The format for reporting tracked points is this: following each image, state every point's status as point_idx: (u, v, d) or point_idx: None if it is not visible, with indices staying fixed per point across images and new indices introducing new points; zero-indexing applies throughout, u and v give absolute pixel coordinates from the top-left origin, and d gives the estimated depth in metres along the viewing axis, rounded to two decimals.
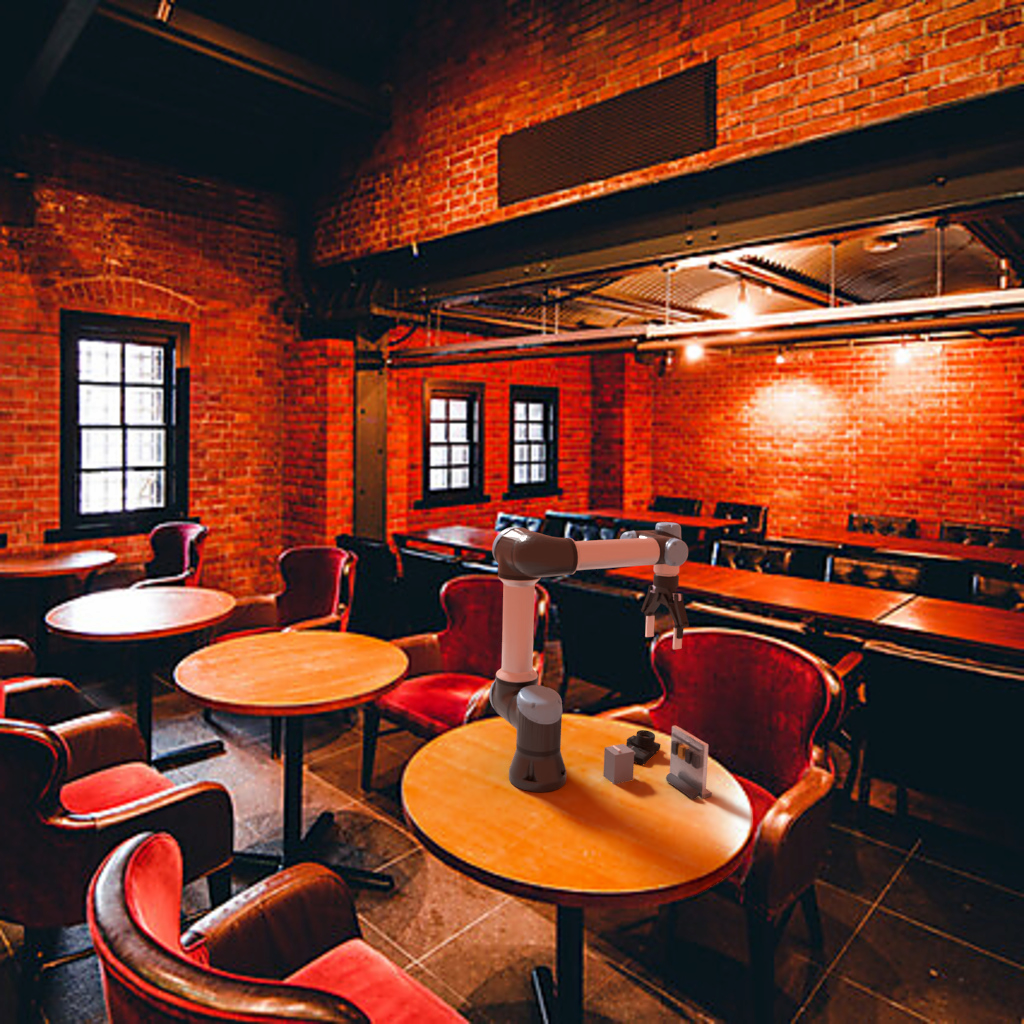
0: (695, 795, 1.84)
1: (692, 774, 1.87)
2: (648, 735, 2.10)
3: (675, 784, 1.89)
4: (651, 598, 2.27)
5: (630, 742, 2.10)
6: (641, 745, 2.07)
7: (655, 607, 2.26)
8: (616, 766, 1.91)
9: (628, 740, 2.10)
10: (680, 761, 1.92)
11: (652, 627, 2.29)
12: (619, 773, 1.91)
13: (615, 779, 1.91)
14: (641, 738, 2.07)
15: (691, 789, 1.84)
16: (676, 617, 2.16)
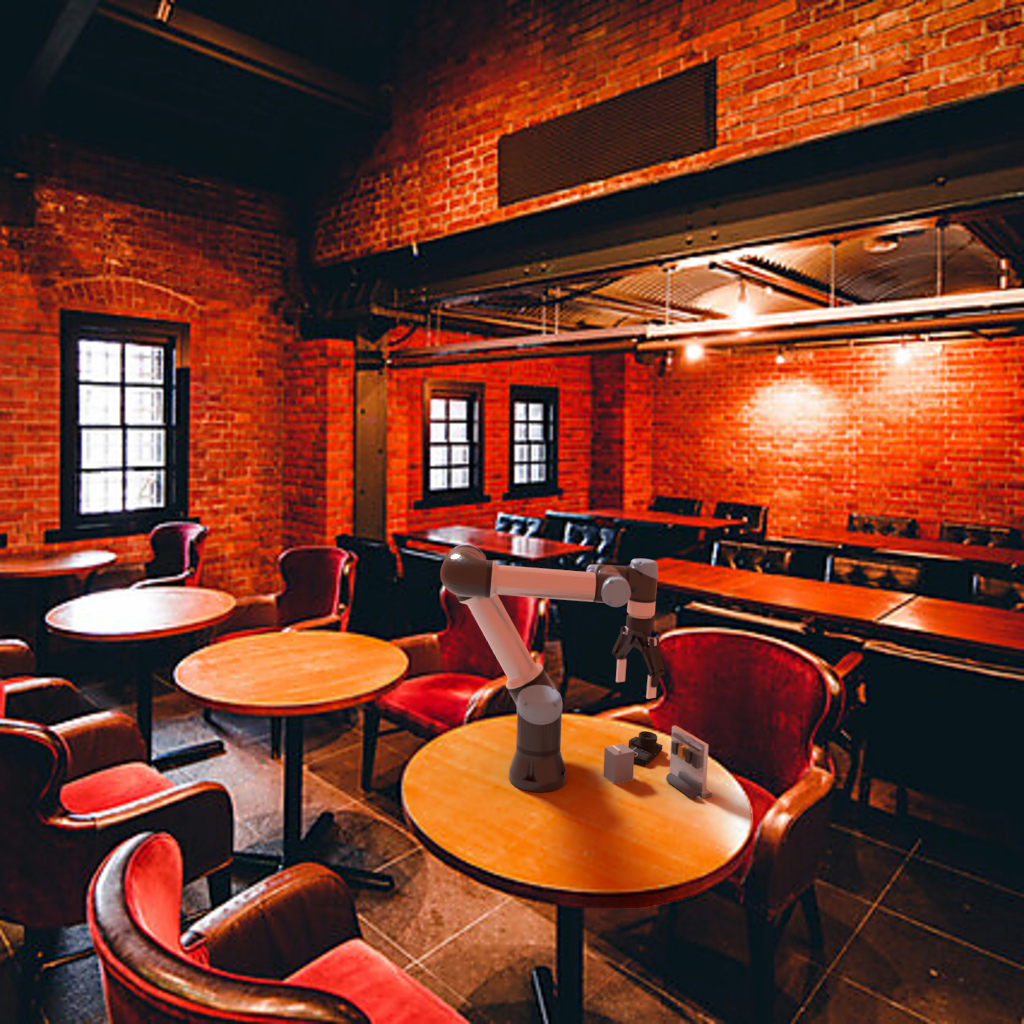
0: (695, 795, 1.84)
1: (692, 774, 1.87)
2: (650, 736, 2.09)
3: (675, 784, 1.89)
4: (623, 640, 2.09)
5: (632, 743, 2.09)
6: (643, 746, 2.06)
7: (627, 650, 2.07)
8: (616, 766, 1.91)
9: (630, 741, 2.10)
10: (680, 761, 1.92)
11: (623, 671, 2.10)
12: (619, 773, 1.91)
13: (615, 779, 1.91)
14: (643, 739, 2.06)
15: (691, 789, 1.84)
16: (651, 664, 1.97)
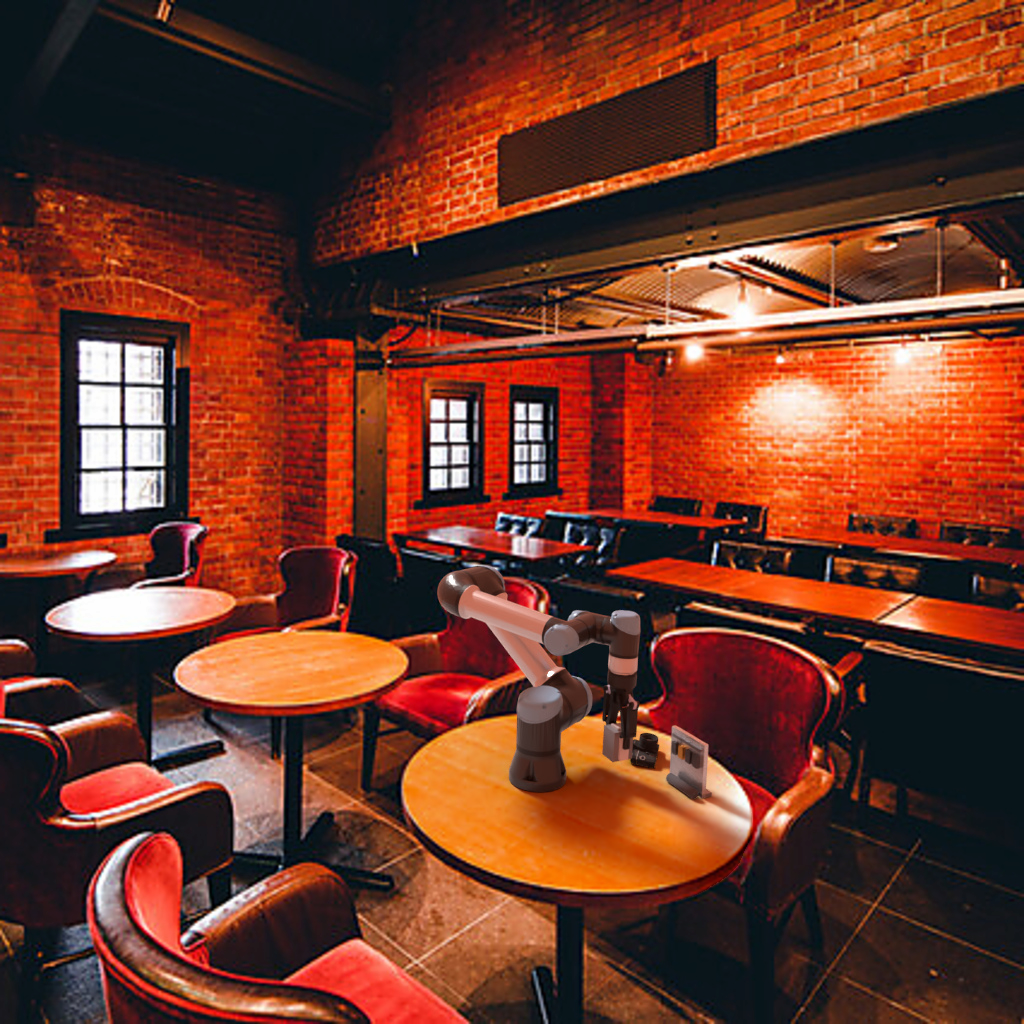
0: (695, 795, 1.84)
1: (692, 774, 1.87)
2: (650, 737, 2.08)
3: (675, 784, 1.89)
4: (609, 701, 1.97)
5: (634, 747, 2.07)
6: (647, 748, 2.05)
7: (615, 712, 1.95)
8: (616, 744, 1.90)
9: None
10: (680, 761, 1.92)
11: None
12: None
13: (614, 757, 1.91)
14: (647, 741, 2.05)
15: (691, 789, 1.84)
16: (625, 726, 1.89)
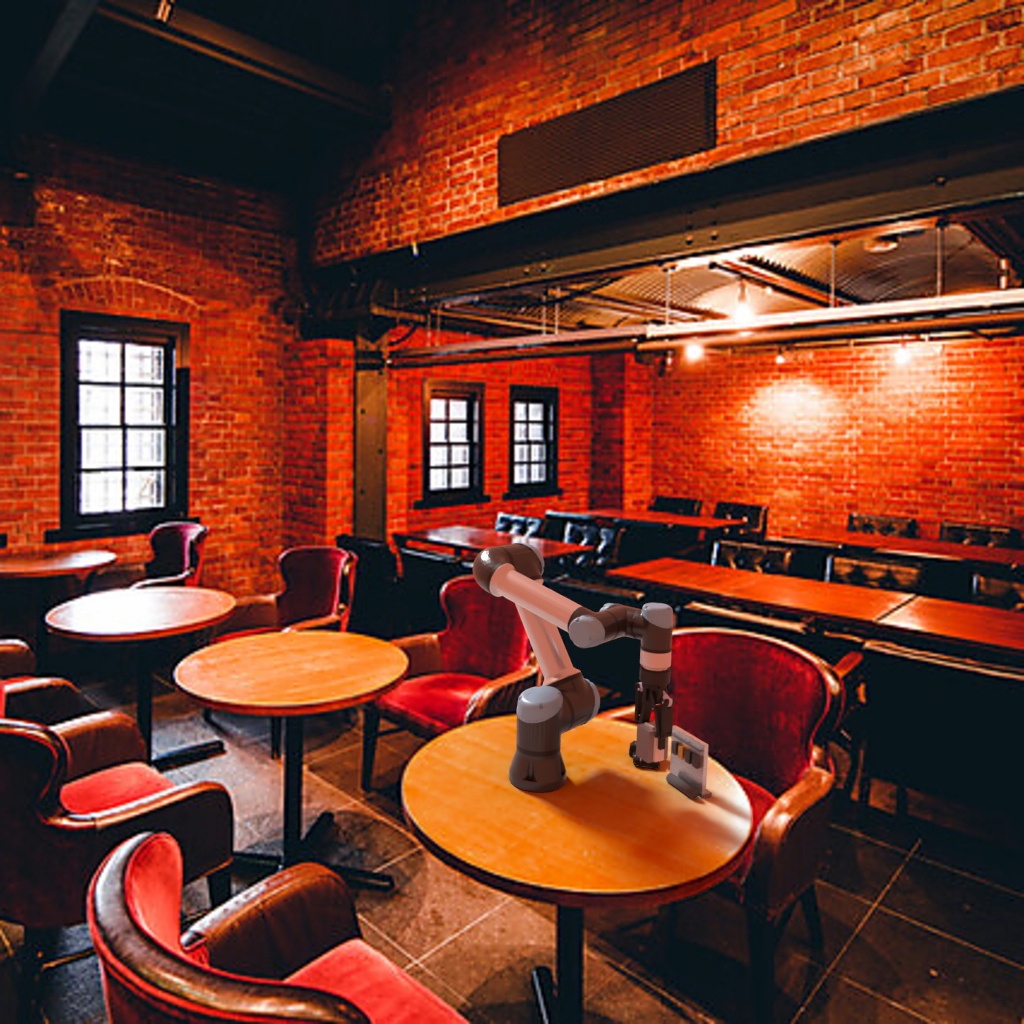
0: (695, 795, 1.84)
1: (692, 774, 1.87)
2: None
3: (675, 784, 1.89)
4: (642, 699, 1.87)
5: (635, 748, 2.06)
6: None
7: (648, 711, 1.85)
8: (650, 744, 1.80)
9: (632, 746, 2.06)
10: (680, 761, 1.92)
11: None
12: None
13: (649, 758, 1.81)
14: None
15: (691, 789, 1.84)
16: (660, 724, 1.79)
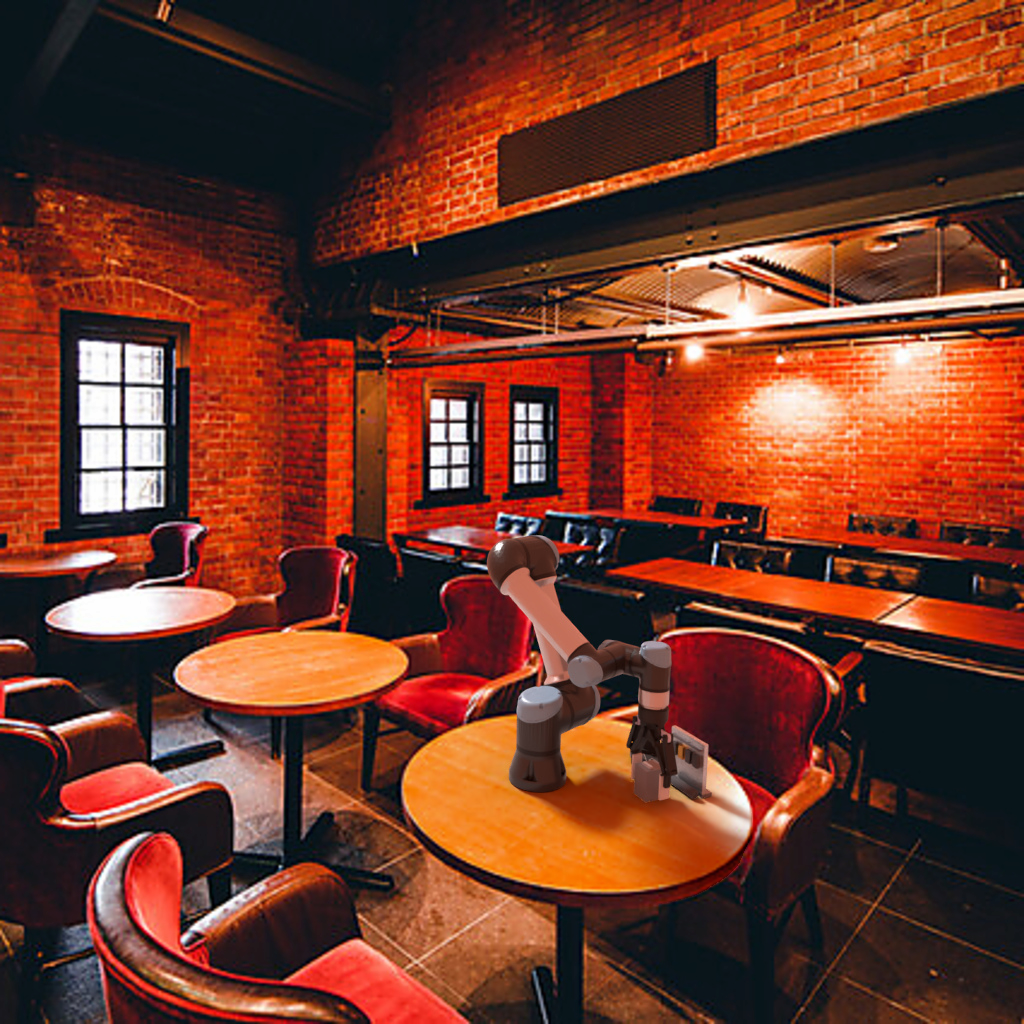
0: (695, 795, 1.84)
1: (692, 774, 1.87)
2: None
3: (675, 784, 1.89)
4: (637, 731, 1.89)
5: None
6: (652, 750, 2.04)
7: (642, 743, 1.88)
8: (648, 783, 1.82)
9: None
10: (680, 761, 1.92)
11: None
12: (651, 790, 1.82)
13: (646, 797, 1.82)
14: None
15: (691, 789, 1.84)
16: (663, 762, 1.79)
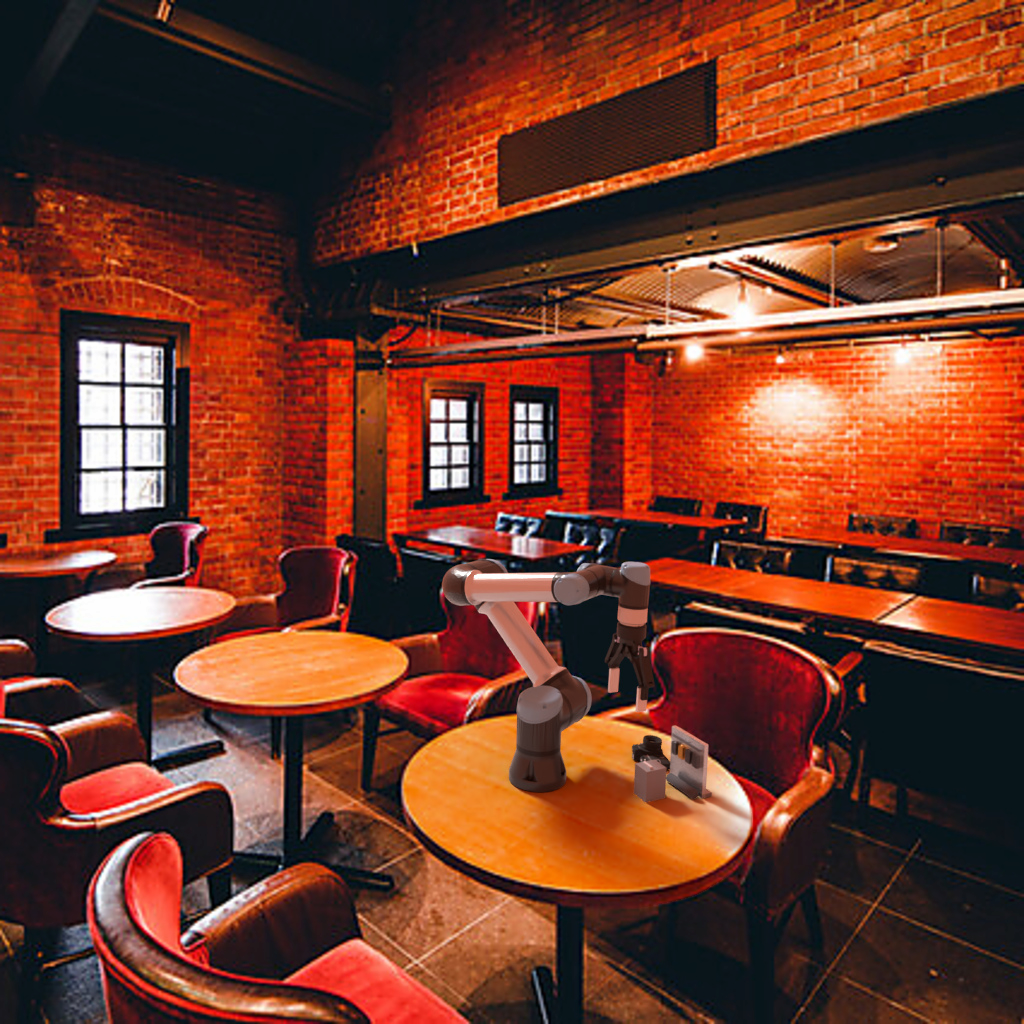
0: (695, 795, 1.84)
1: (692, 774, 1.87)
2: (651, 739, 2.07)
3: (675, 784, 1.89)
4: (616, 648, 1.96)
5: (641, 752, 2.03)
6: (655, 751, 2.03)
7: (620, 659, 1.95)
8: (648, 783, 1.82)
9: (638, 751, 2.04)
10: (680, 761, 1.92)
11: (616, 681, 1.97)
12: (651, 790, 1.82)
13: (646, 797, 1.82)
14: (655, 744, 2.03)
15: (691, 789, 1.84)
16: (640, 675, 1.84)
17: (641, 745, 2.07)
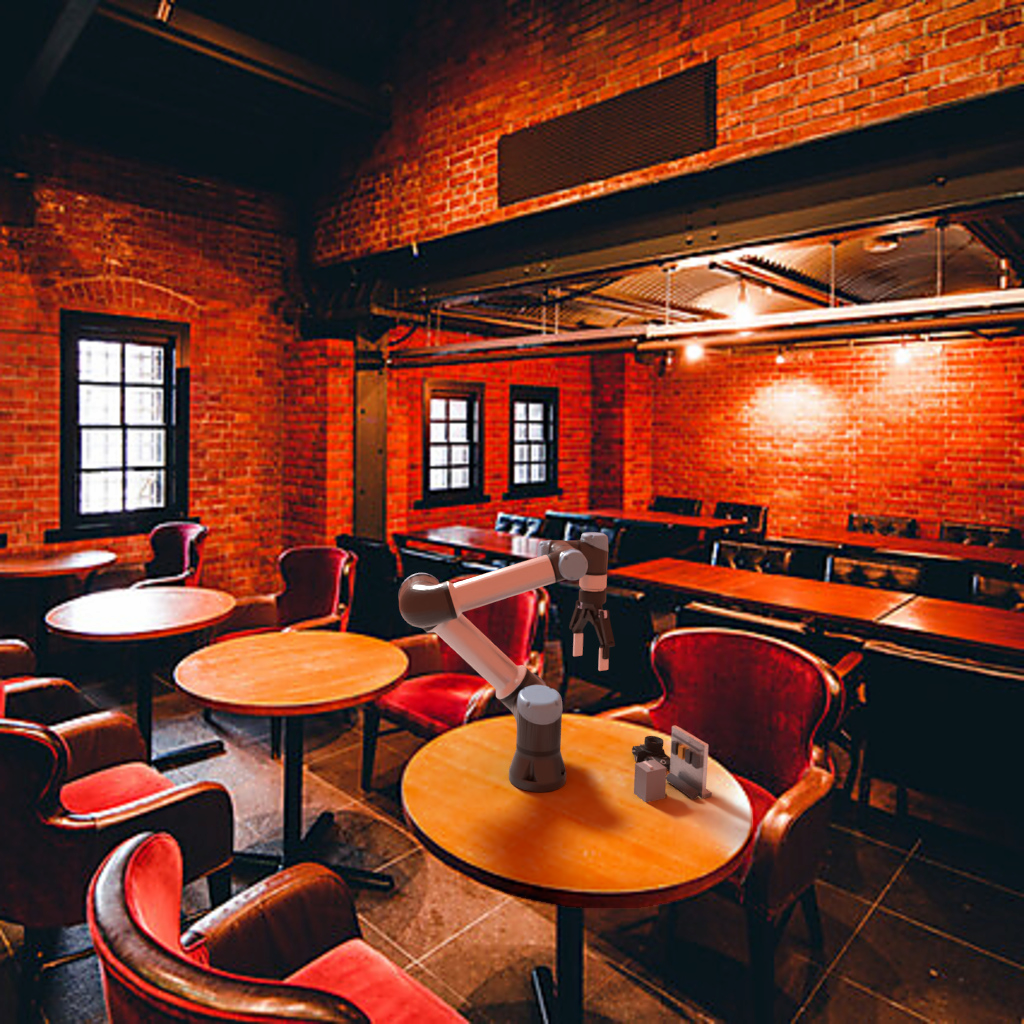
0: (695, 795, 1.84)
1: (692, 774, 1.87)
2: (652, 740, 2.07)
3: (675, 784, 1.89)
4: (579, 614, 2.10)
5: (645, 753, 2.03)
6: (658, 751, 2.03)
7: (583, 624, 2.09)
8: (648, 783, 1.82)
9: (641, 752, 2.03)
10: (680, 761, 1.92)
11: (580, 645, 2.11)
12: (651, 790, 1.82)
13: (646, 797, 1.82)
14: (658, 744, 2.03)
15: (691, 789, 1.84)
16: (602, 636, 1.98)
17: (642, 746, 2.06)
